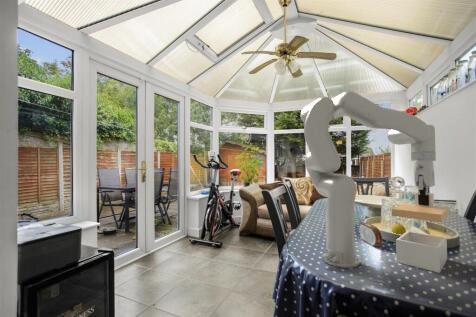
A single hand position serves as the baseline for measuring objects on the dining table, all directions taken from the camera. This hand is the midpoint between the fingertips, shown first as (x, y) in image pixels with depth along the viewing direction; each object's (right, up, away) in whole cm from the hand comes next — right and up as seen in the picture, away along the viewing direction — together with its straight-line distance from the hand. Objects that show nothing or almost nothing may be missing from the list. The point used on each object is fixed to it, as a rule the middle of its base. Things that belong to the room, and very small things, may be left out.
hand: (424, 204), depth 91 cm
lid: (-5, -3, -4) cm, 7 cm away
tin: (-13, -20, +15) cm, 28 cm away
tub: (-5, -20, -5) cm, 21 cm away
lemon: (+2, -20, +17) cm, 27 cm away
